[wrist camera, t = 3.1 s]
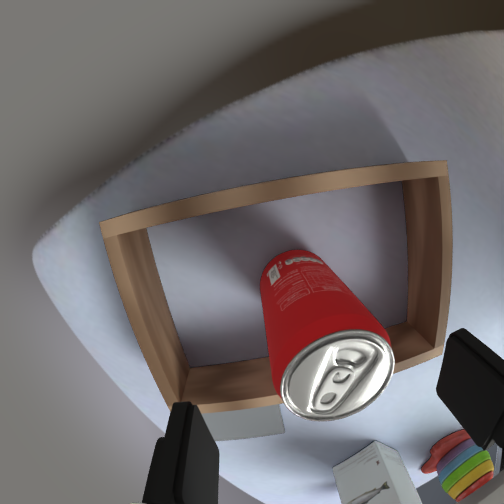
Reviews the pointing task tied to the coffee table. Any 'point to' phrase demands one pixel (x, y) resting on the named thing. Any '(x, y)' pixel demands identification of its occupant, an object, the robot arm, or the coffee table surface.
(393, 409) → the coffee table surface
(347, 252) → the coffee table surface
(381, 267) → the coffee table surface
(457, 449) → the stacking bear
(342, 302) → the beverage can
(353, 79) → the coffee table surface
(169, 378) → the crate
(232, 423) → the mat
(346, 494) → the supplement box
